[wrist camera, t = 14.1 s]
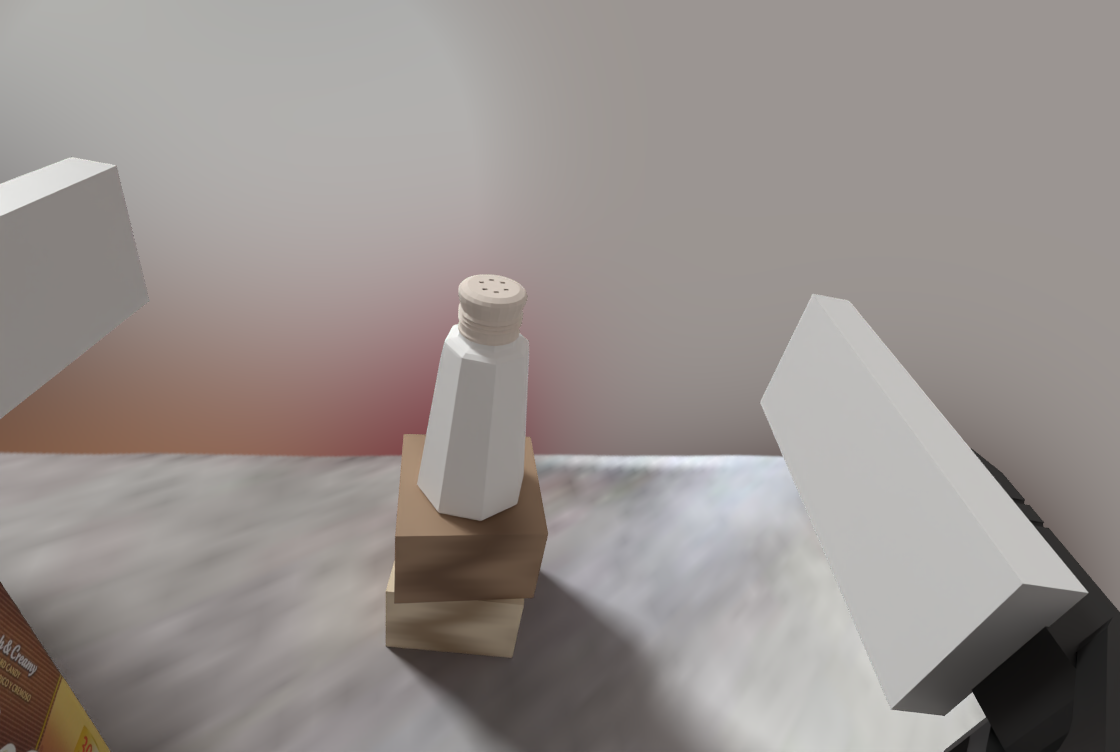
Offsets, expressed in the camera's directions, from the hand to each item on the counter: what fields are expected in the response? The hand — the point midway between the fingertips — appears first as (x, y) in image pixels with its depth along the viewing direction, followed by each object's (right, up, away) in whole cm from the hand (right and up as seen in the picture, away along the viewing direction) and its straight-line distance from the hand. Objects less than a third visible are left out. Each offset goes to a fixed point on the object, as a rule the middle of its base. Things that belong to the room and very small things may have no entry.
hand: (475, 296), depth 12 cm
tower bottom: (-4, -15, +24) cm, 29 cm away
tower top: (-4, -11, +21) cm, 24 cm away
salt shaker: (-3, -7, +18) cm, 20 cm away
